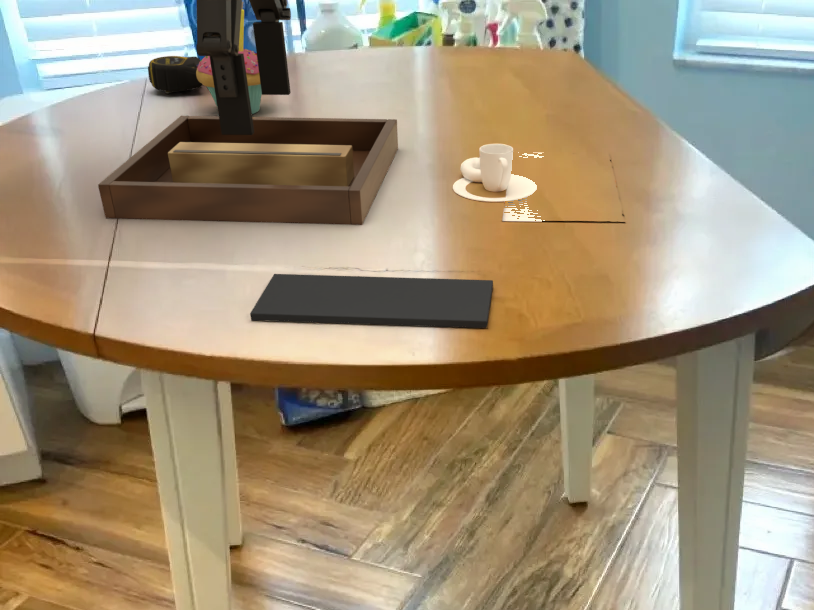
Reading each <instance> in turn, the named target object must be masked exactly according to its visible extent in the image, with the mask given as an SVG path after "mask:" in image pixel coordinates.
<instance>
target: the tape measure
mask: <svg viewBox="0 0 814 610" xmlns="http://www.w3.org/2000/svg"><path fill="white" fill-rule="evenodd" d="M200 61H201V59H200V58H199V57H198V56H180V55H167V56H159V57H155V58H152V59H151V60H149V63H148V66H147V72H148V73H147V75H148V79H149V83H150V84H151V86H152V87H153V88H154V89H155V90H156V91H157V90H158V91H161V92H165V93H166V94H171V93H179V92H185V91H193V90H195V89H199V88H202V87H203V86H204V85H203V84H202V83H200V82H199V81H198V79H197V76H196V71H197V65H198V64H199V62H200Z"/></svg>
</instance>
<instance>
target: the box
mask: <svg viewBox="0 0 814 610" xmlns="http://www.w3.org/2000/svg"><path fill="white" fill-rule="evenodd" d="M252 119H253V126H254V133H253V135H222V133H221V127H220V120H219V115H217V116H216V115H215V116H213V115H180V116H178V117H177V118H176V119H174V121H173V122H172V123H170V124H169V125H168V126H167V127H165V128H164V129H163V130H162V131H160V132H159V133H158V134H157V135H156V136H154V138H152V139H151V140H150V141H149V142H147V143H146V144H145V145H143V147H141V148H140V149H138V150H137V152H135V153H134V154H133V155H132V156H130V157H129V158H128V159H127V160H126V161H124V162H123V163H122V164H121V165H119V167H117V168H116V169H115V170H114V171H112V172H111V173H110V174H109V175H108V176H106V177H105V178H104V179H103V180H102V181H100V182H99V183H98V184H97V187H98V191H99V194H100V201H101V204H102V209H103V213H104V217H105V219H110V220H145V221H146V220H149V221H150V220H152V221H187V222H189V221H190V222H191V221H192V222H193V221H194V222H227V223H228V222H230V223H263V224H265V223H268V224H302V225H303V224H304V225H305V224H306V225H307V224H308V225H340V226H341V225H342V226H344V225H346V226H348V225H349V226H363V225H364V223H365V221H366V218H367V216H368V214H369V212H370V210H371V208H372V206H373V203H374V201H375V199H376V198H377V195H378V192H379V191H380V189H381V187H382V184H383V182H384V180H385V178H386V176H387V173H388V172H389V170H390V168H391V165H392V164H393V161H394V159H395V157H396V155H397V153H398V150H399V136H398V119H396V118H395V119H394V118H393V119H392V118H391V119H390V118H388V119H387V118H341V117H340V118H338V117H337V118H336V117H334V118H333V117H328V118H327V117H284V116H283V117H281V116H279V117H278V116H275V117H274V116H252ZM179 142H203V143H255V144H307V145H352V151H353V165H354V177H353V179H352V181H351V183H350V184H349V186H304V185H260V184H215V183H173V179H172V174H171V168H170V163H169V157H168V152H169V151H170V150H172V149H173V148H174V147H175V146H176V145H177V144H178V143H179Z"/></svg>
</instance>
